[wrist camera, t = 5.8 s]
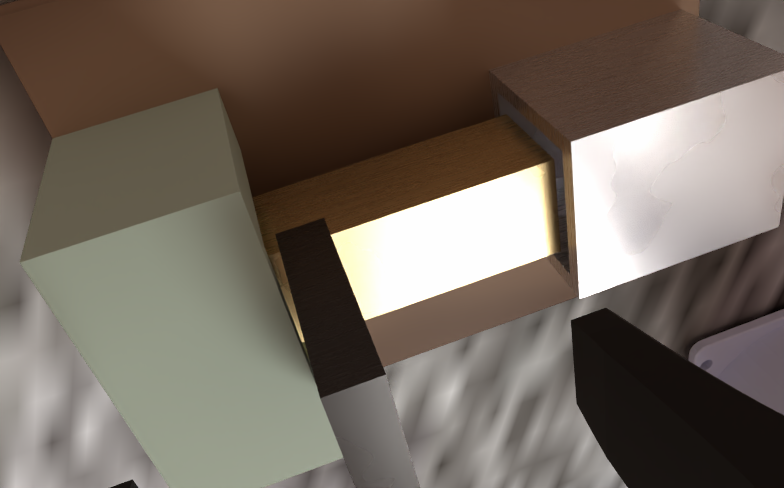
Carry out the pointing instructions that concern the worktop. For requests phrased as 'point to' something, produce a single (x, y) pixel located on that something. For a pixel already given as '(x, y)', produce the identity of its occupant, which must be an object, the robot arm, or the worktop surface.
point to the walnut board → (315, 95)
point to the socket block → (177, 296)
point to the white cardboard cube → (652, 143)
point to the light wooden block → (400, 261)
